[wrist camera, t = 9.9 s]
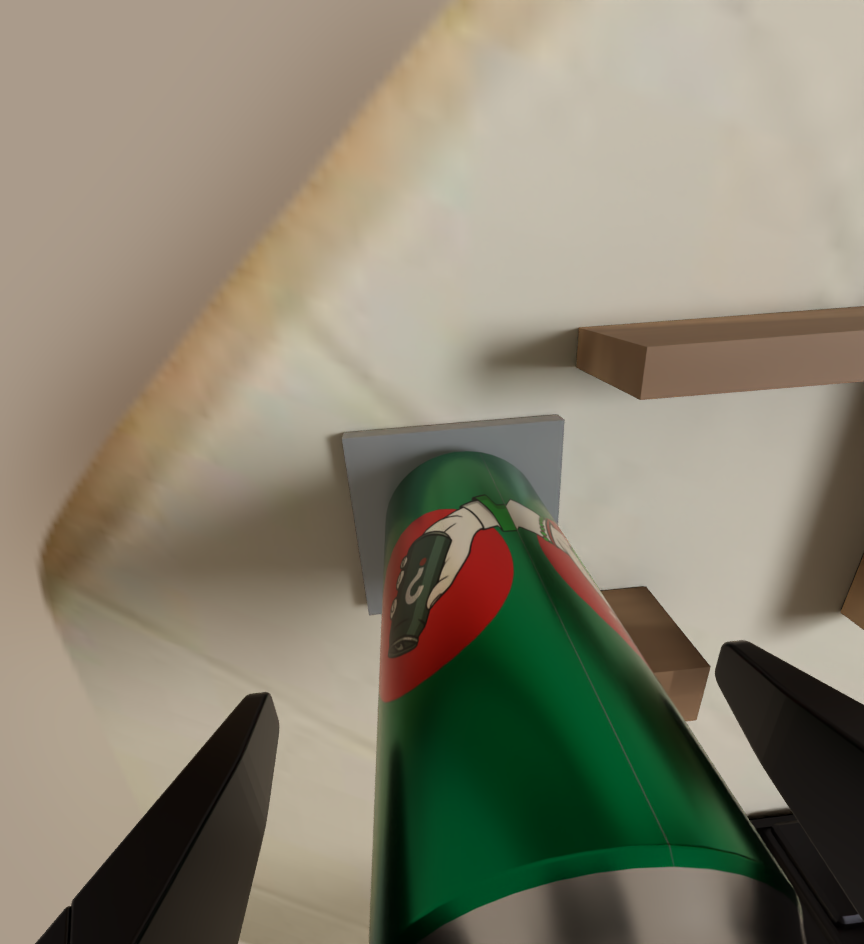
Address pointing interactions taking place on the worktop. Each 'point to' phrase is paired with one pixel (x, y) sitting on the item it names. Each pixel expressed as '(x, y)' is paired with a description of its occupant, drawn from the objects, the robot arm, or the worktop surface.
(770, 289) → the worktop surface
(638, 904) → the soda can
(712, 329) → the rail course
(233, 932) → the robot arm
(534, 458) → the slate coaster
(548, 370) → the worktop surface
